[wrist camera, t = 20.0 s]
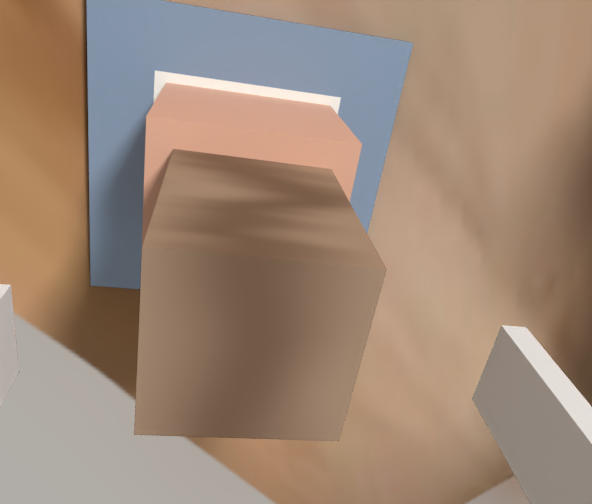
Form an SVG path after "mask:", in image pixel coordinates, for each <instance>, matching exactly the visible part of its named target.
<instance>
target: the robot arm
mask: <svg viewBox="0 0 592 504" xmlns="http://www.w3.org/2000/svg"><path fill="white" fill-rule="evenodd" d="M16 346H17V345H16V335H15V325H14V313H13V302H12V292H11V285H4V284H0V406H1V404H2V402H3V401H4V399H5V397H6V395H7V393H8V392H9V390H10V388H11V386H12V384H13V382H14V381H15V379H16V377H17V375H18V374H19V367H18V356H17V347H16ZM472 399H473V401H474V403H475V405H476V407H477V408H478V410H479V412H480V414H481V416H482V417H483V419H484V421H485V423H486V425H487V426H488V428H489V430H490V432H491V434H492V435H493V437H494V439H495V441H496V443H497V444H498V446H499V448H500V450H501V452H502V453H503V455H504V457H505V459H506V461H507V462H508V464H509V466H510V468H511V470H512V471H513V473H514V475H515V477H516V479H517V480H518V482H519V484H520V486H521V487H522V489H523V491H524V492H525V494H526V496H527V498H528V500H529V501H530V504H592V406H591V405H590V404H589V403H588V402H587V400H586V399H585V398H584V397H583V396H582V394H581V393H580V392H579V391H578V390H577V388H576V387H575V386H574V385H573V383H572V382H571V381H570V380H569V379H568V377H567V376H566V375H565V374H564V373H563V371H562V370H561V369H560V368H559V367H558V365H557V364H556V363H555V362H554V360H553V359H552V358H551V357H550V356H549V354H548V353H547V352H546V351H545V350H544V348H543V347H542V346H541V345H540V344H539V342H538V341H537V340H536V339H535V337H534V336H533V335H532V334H531V333H530V331H529V330H528V329H527V328H526V327H515V326H503V325H502V326H501V328H500V331H499V333H498V336H497V338H496V341H495V343H494V346H493V348H492V351H491V353H490V356H489V358H488V360H487V363H486V365H485V368H484V370H483V373H482V375H481V378H480V380H479V383H478V385H477V388H476V390H475V393H474V395H473V398H472Z"/></svg>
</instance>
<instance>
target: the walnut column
mask: <svg viewBox="0 0 592 504" xmlns="http://www.w3.org/2000/svg"><path fill="white" fill-rule="evenodd" d="M386 270H387V269H386V267H385V265H384V264H383V262H382V260H381V258H380V256H379V254H378V253H377V251H376V249H375V247H374V245H373V244H372V242H371V240H370V238H369V236H368V235H367V233H366V231H365V229H364V227H363V225H362V224H361V222H360V220H359V218H358V216H357V215H356V213H355V211H354V209H353V207H352V205H351V204H350V202H349V200H348V198H347V196H346V195H345V193H344V191H343V189H342V187H341V186H340V184H339V182H338V180H337V178H336V176H335V175H334V173H333V171H332V169H327V168H319V167H312V166H304V165H296V164H288V163H280V162H273V161H265V160H257V159H249V158H242V157H234V156H226V155H218V154H210V153H203V152H195V151H187V150H179V149H173V151H172V155H171V158H170V161H169V164H168V167H167V170H166V173H165V177H164V180H163V183H162V186H161V189H160V192H159V196H158V199H157V202H156V205H155V208H154V211H153V214H152V218H151V221H150V224H149V227H148V230H147V233H146V236H145V240H144V243H143V246H142V269H141V291H140V314H139V337H138V360H137V382H136V405H135V430H134V434H135V435H161V436H190V437H220V438H250V439H280V440H310V441H339V439H340V436H341V432H342V428H343V425H344V421H345V418H346V414H347V410H348V407H349V403H350V400H351V396H352V392H353V389H354V385H355V382H356V378H357V374H358V371H359V367H360V363H361V360H362V356H363V353H364V349H365V345H366V342H367V338H368V335H369V331H370V327H371V324H372V320H373V317H374V313H375V309H376V306H377V302H378V299H379V295H380V291H381V288H382V284H383V281H384V277H385V273H386Z"/></svg>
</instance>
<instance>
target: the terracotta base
mask: <svg viewBox="0 0 592 504" xmlns="http://www.w3.org/2000/svg"><path fill="white" fill-rule="evenodd" d="M361 148H362V143H361V142H360V141H359V140H358V139H357V137H356V136H355V135H354V134H353V132H352V131H351V130H350V129H349V128H348V126H347V125H346V124H345V123H344V121H343V120H342V119H341V118H340V117H339V115H338V114H337V113H336V112H335V111H334V109H333V108H332V107H331V106H330V105H323V104H316V103H309V102H302V101H295V100H288V99H281V98H274V97H267V96H259V95H252V94H245V93H238V92H231V91H224V90H217V89H210V88H203V87H196V86H189V85H182V84H175V83H168V82H166V84H165V85H164V87H163V89H162V90H161V92H160V94H159V95H158V97H157V99H156V101H155V102H154V104H153V106H152V107H151V109H150V111H149V112H148V114H147V116H146V138H145V168H144V198H143V227H142V246H143V243H144V240H145V236H146V233H147V230H148V227H149V224H150V221H151V218H152V214H153V211H154V208H155V205H156V202H157V199H158V196H159V192H160V189H161V186H162V183H163V180H164V177H165V173H166V170H167V167H168V164H169V161H170V158H171V155H172V151H173V149H179V150H187V151H195V152H203V153H210V154H218V155H226V156H234V157H242V158H249V159H257V160H265V161H273V162H280V163H288V164H296V165H304V166H312V167H319V168H327V169H332V171H333V173H334V175H335V176H336V178H337V180H338V182H339V184H340V186H341V187H342V189H343V191H344V193H345V195H346V196H347V198H348V200H349V202H350V198H351V193H352V189H353V184H354V180H355V175H356V170H357V166H358V161H359V157H360V152H361ZM141 269H142V257H141ZM140 291H141V287H140Z"/></svg>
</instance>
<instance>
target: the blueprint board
mask: <svg viewBox="0 0 592 504" xmlns="http://www.w3.org/2000/svg"><path fill="white" fill-rule="evenodd" d="M412 46H413V43H411V42H407V41H401V40H395V39H389V38H383V37H377V36H371V35H366V34H360V33H354V32H348V31H342V30H336V29H330V28H324V27H318V26H312V25H306V24H300V23H294V22H288V21H282V20H277V19H271V18H265V17H259V16H253V15H247V14H241V13H235V12H229V11H223V10H217V9H211V8H205V7H199V6H194V5H188V4H182V3H176V2H170V1H164V0H87V68H88V138H89V208H90V278H91V286H102V287H115V288H129V289H140V287H141V257H142V227H143V198H144V168H145V138H146V116H147V114H148V112H149V111H150V109H151V107H152V106H153V104H154V102H155V101H156V99H157V97H158V95H159V94H160V92H161V90H162V89H163V87H164V85H165V84H166V82H168V83H175V84H182V85H189V86H196V87H203V88H210V89H217V90H224V91H231V92H238V93H245V94H252V95H259V96H267V97H274V98H281V99H288V100H295V101H302V102H309V103H316V104H323V105H330V106H331V107H332V108H333V109H334V111H335V112H336V113H337V114H338V115H339V117H340V118H341V119H342V120H343V121H344V123H345V124H346V125H347V126H348V128H349V129H350V130H351V131H352V132H353V134H354V135H355V136H356V137H357V139H358V140H359V141H360V142H361V143H362V148H361V152H360V157H359V161H358V166H357V170H356V175H355V180H354V184H353V189H352V193H351V198H350V204H351V205H352V207H353V209H354V211H355V213H356V215H357V216H358V218H359V220H360V222H361V224H362V225H363V227H364V229H365V231H366V233H367V232H368V228H369V224H370V220H371V216H372V211H373V207H374V203H375V199H376V195H377V191H378V187H379V182H380V178H381V174H382V170H383V166H384V162H385V158H386V153H387V149H388V145H389V141H390V137H391V133H392V129H393V124H394V120H395V116H396V112H397V108H398V104H399V100H400V95H401V91H402V87H403V83H404V79H405V75H406V71H407V67H408V62H409V58H410V54H411V50H412Z"/></svg>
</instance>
